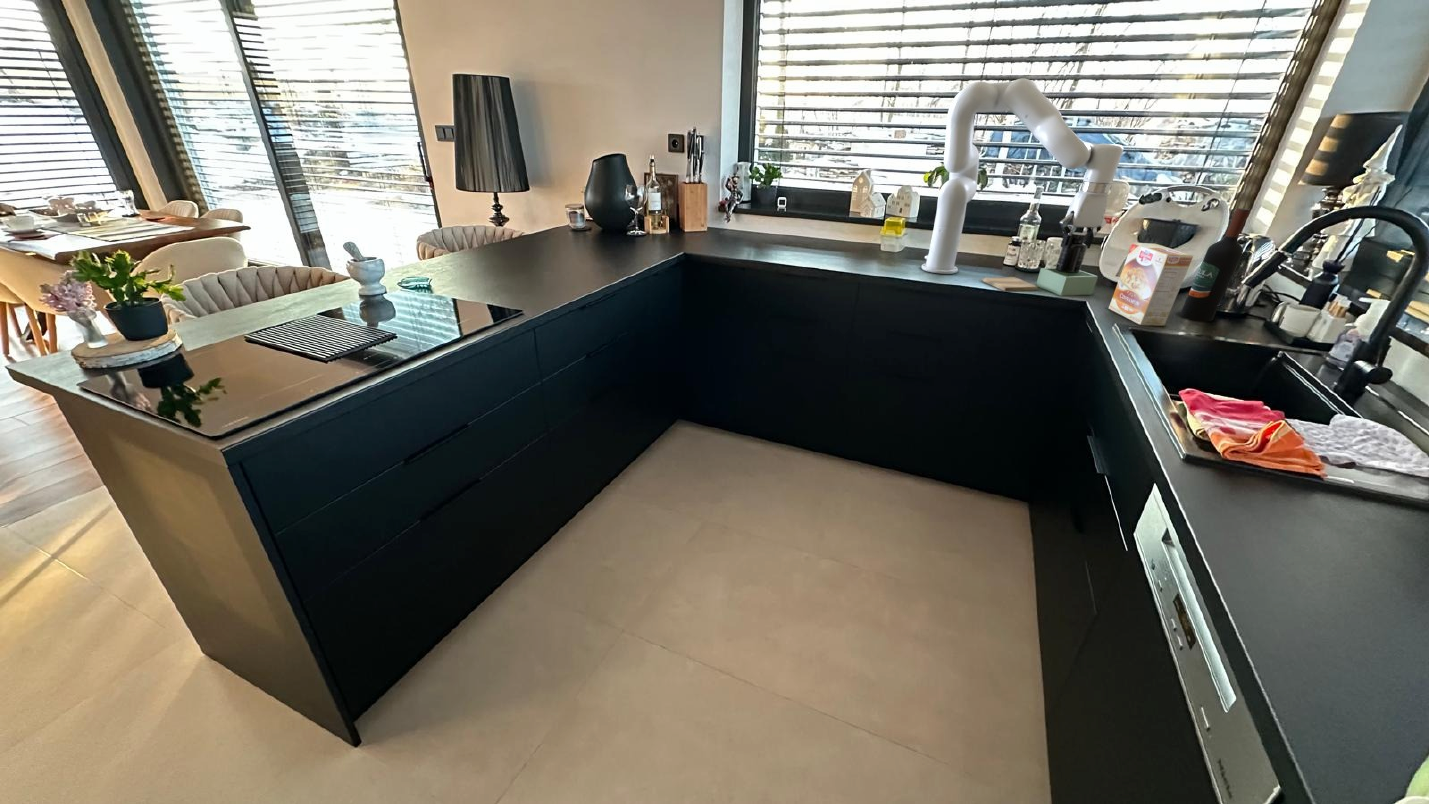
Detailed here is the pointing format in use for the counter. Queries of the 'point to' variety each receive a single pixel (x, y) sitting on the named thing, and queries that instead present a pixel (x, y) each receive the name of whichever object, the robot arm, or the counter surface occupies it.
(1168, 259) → the coffeecake box
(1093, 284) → the box
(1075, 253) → the supplement bottle
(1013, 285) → the cork board
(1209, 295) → the wine bottle
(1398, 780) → the counter surface
